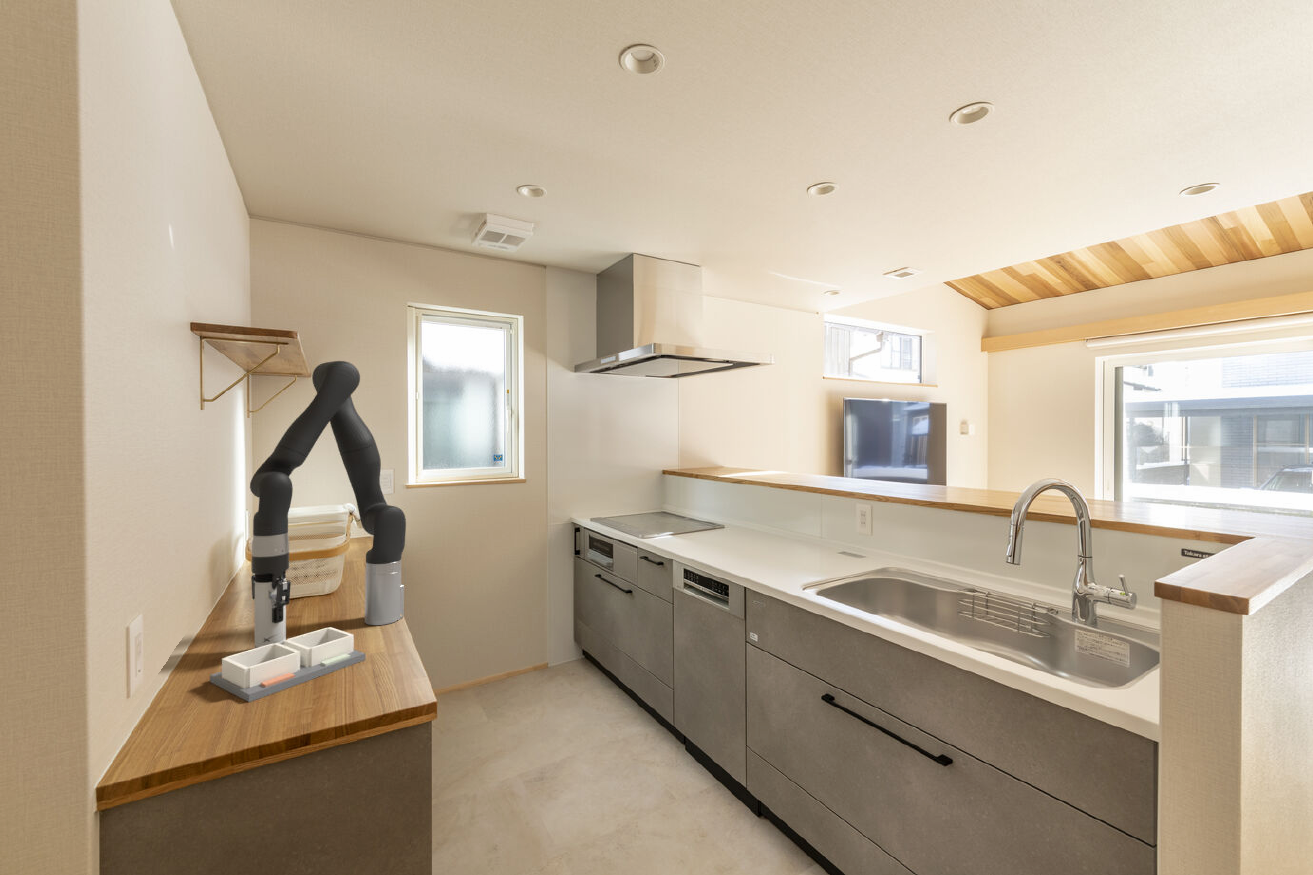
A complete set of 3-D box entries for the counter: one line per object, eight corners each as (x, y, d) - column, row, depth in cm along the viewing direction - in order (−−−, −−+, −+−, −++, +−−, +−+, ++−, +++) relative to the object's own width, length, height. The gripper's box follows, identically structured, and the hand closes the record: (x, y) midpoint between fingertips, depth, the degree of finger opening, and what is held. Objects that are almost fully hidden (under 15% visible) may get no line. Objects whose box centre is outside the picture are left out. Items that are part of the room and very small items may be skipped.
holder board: (324, 645, 136) (325, 623, 136) (365, 659, 128) (365, 636, 128) (209, 681, 115) (210, 656, 115) (249, 702, 107) (249, 674, 107)
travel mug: (270, 653, 129) (270, 569, 129) (247, 650, 130) (248, 568, 130) (293, 643, 135) (293, 563, 135) (271, 640, 136) (271, 562, 136)
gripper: (302, 552, 132) (302, 620, 132) (272, 546, 139) (272, 610, 139) (268, 558, 126) (268, 630, 126) (238, 551, 133) (238, 619, 133)
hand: (270, 619), depth 133 cm, fingers closed on travel mug, 6 cm apart
